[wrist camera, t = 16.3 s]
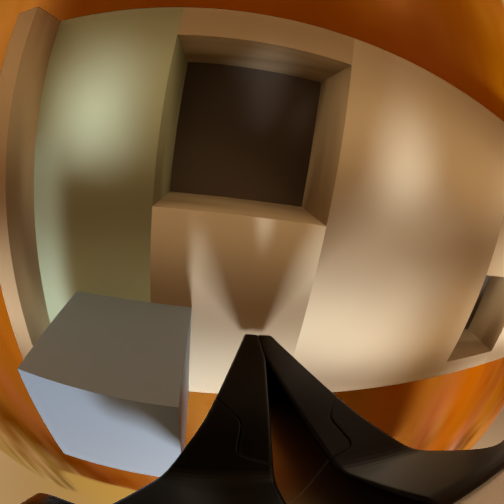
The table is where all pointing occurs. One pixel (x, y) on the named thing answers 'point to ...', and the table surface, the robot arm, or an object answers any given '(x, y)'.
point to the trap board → (252, 191)
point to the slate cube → (114, 381)
